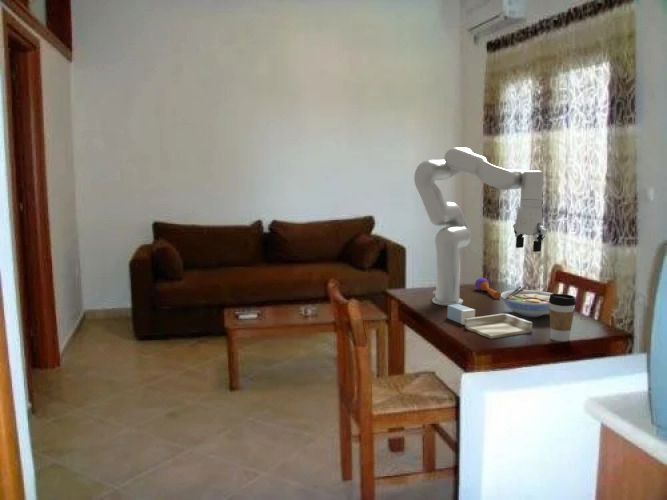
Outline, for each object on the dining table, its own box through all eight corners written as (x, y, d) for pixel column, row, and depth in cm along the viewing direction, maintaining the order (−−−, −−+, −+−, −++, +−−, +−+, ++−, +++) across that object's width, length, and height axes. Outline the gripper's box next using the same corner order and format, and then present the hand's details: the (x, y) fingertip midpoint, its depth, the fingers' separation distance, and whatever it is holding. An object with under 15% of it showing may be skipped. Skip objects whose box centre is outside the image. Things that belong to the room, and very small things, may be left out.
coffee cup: (542, 335, 212) (544, 292, 210) (566, 334, 213) (569, 292, 211) (553, 342, 204) (555, 298, 202) (578, 342, 205) (580, 297, 202)
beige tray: (464, 328, 221) (465, 318, 220) (504, 322, 229) (505, 313, 228) (490, 338, 209) (491, 328, 208) (531, 332, 216) (532, 322, 216)
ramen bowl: (553, 327, 223) (554, 304, 221) (490, 317, 235) (491, 296, 233) (568, 312, 243) (569, 291, 242) (510, 304, 256) (511, 285, 254)
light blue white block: (447, 318, 235) (447, 305, 234) (458, 316, 237) (458, 303, 236) (463, 324, 226) (464, 311, 225) (474, 323, 228) (475, 309, 227)
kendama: (489, 290, 264) (472, 277, 283) (491, 303, 265) (473, 289, 285) (502, 287, 265) (484, 274, 284) (504, 300, 266) (486, 287, 285)
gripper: (507, 202, 236) (505, 246, 239) (538, 206, 221) (535, 253, 223) (523, 201, 239) (520, 245, 242) (555, 205, 224) (552, 252, 226)
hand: (528, 249), depth 233 cm, fingers open, 9 cm apart
